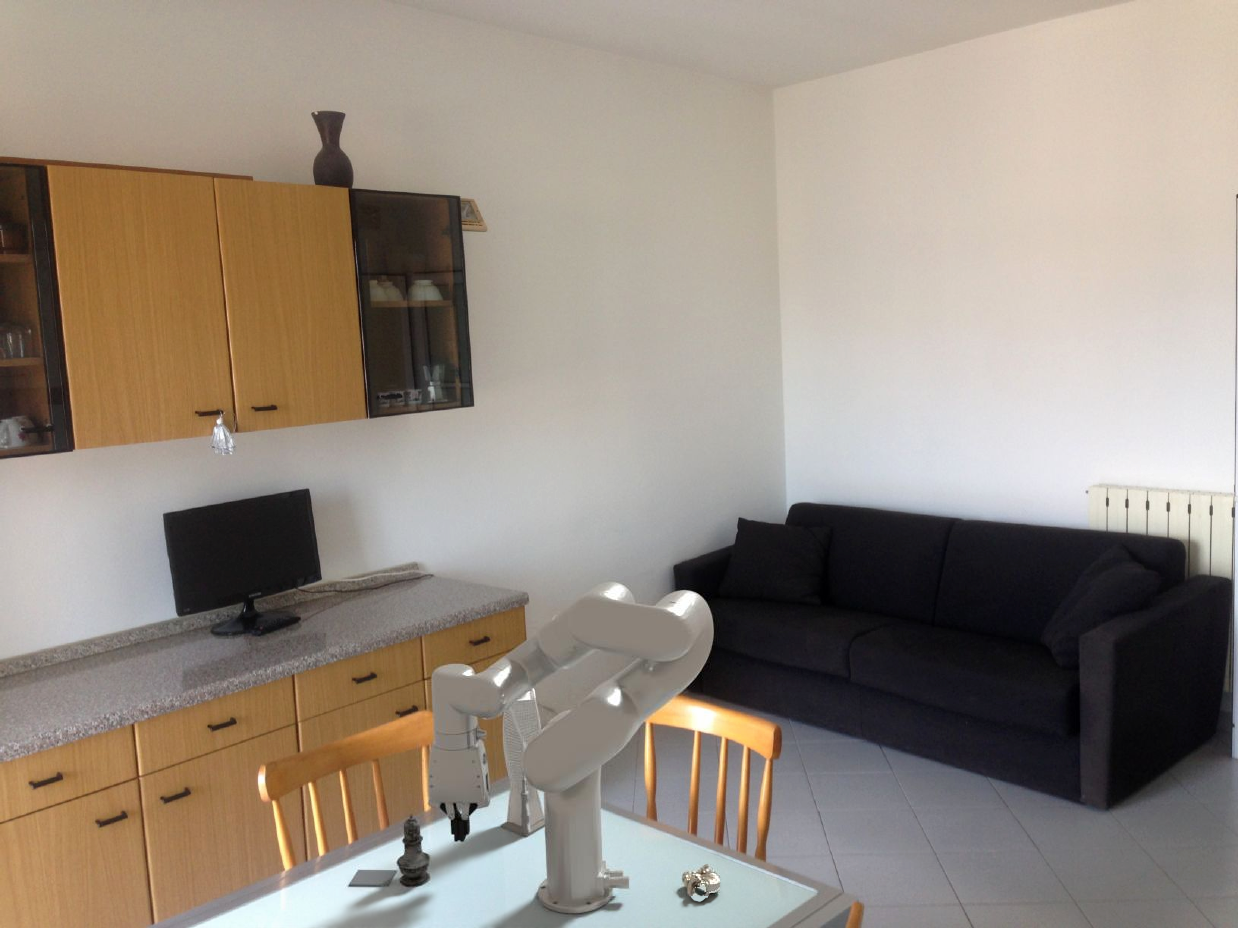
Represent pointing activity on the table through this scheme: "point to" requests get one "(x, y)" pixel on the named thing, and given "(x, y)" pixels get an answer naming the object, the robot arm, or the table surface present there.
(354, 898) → the table surface
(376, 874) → the grey flat slab
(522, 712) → the skyscraper
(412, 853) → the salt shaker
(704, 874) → the ornament
